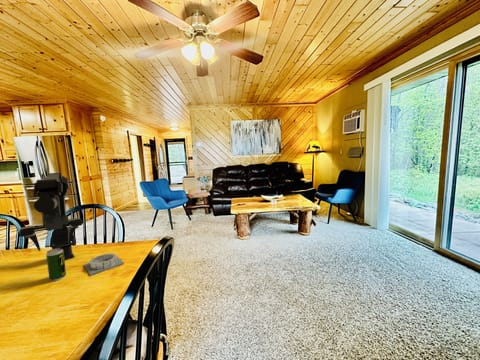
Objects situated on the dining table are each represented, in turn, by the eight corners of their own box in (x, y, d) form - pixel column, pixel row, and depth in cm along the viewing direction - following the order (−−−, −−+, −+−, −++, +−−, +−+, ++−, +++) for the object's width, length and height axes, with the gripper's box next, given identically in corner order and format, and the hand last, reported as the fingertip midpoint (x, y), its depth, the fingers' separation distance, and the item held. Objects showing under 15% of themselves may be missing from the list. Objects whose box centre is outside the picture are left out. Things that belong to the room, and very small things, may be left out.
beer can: (48, 283, 83) (44, 254, 82) (50, 277, 88) (47, 249, 87) (65, 278, 86) (62, 251, 85) (67, 272, 91) (64, 246, 89)
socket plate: (83, 265, 97) (83, 264, 97) (115, 255, 106) (114, 254, 106) (90, 276, 88) (90, 274, 88) (124, 264, 97) (123, 262, 97)
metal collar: (87, 264, 97) (87, 259, 96) (112, 256, 104) (112, 251, 104) (93, 272, 90) (92, 266, 89) (119, 262, 97) (119, 257, 97)
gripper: (17, 216, 73) (22, 260, 73) (83, 207, 86) (87, 244, 87) (17, 213, 80) (22, 253, 81) (77, 205, 94) (81, 239, 94)
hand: (55, 247), depth 86 cm, fingers open, 9 cm apart
